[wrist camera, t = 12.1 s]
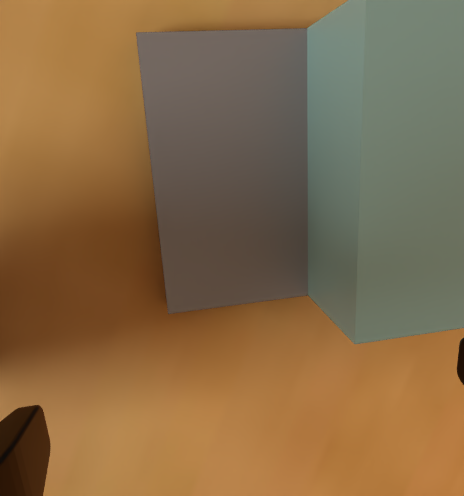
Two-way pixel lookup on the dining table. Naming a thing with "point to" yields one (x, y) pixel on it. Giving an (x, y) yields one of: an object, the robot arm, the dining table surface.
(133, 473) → the dining table surface
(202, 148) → the plate
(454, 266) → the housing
